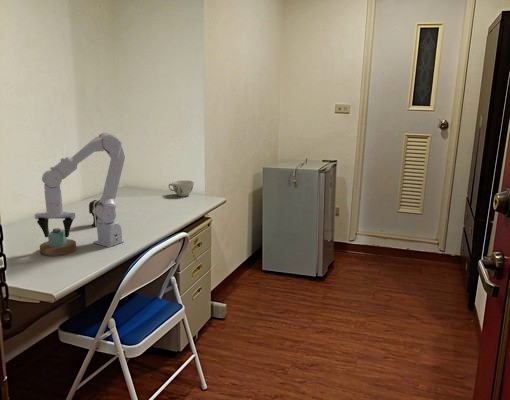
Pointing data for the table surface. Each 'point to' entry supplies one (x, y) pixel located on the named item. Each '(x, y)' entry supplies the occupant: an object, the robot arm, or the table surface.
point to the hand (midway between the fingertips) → (57, 236)
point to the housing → (57, 238)
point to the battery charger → (93, 211)
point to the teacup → (182, 187)
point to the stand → (58, 248)
